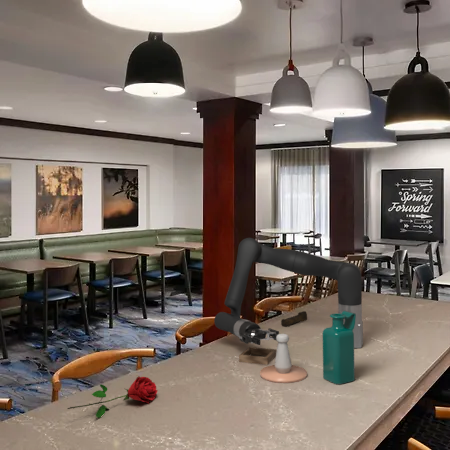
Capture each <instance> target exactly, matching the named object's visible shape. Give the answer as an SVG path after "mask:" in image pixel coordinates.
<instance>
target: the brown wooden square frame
mask: <svg viewBox="0 0 450 450" xmlns="http://www.w3.org/2000/svg"><path fill="white" fill-rule="evenodd" d="M276 352H277V349H276V348H275V349H273V348H263V347H262V348H261V347H253V346H249V347H247V348H246V349H245V350H244V351H243V352H242V353H241V352H240V354H239V355H238V358H239V359H238V361H239V363H248V364H256V365H266V366H269V364H270V363H271V362H272V361H273V360H274V359H276Z"/></svg>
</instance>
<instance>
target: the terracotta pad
mask: <svg viewBox="0 0 450 450" xmlns="http://www.w3.org/2000/svg"><path fill="white" fill-rule="evenodd" d="M259 375H260V378H262V379H263V380H264V381H267V382H270V383H277V384H292V383H299V382H301V381H304V380H305V379H306V378H308V371H307V369H306V368H303V367H302V366H298V365H294V364H292V367H291V369H290V371H289V373H286V374H280V373H278V372H277V370H276V368H275V364H272V365H266V366H265V367H263V368H261V369H260V371H259Z"/></svg>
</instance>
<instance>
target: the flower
mask: <svg viewBox="0 0 450 450" xmlns="http://www.w3.org/2000/svg"><path fill="white" fill-rule="evenodd" d="M99 387H100V388H101V389H102V390H101V389H100V390H99V389H98V390H96V391H94V392H93V393H91V396H93V397H95V398H100V400H99V401H98V402H94V403H89V404H82V405H77V406H76V405H75V406H70V407H67V410H70V409H77V408H83V407H89V406H93V405H98V404H99V405H101V406H100V407H98V410H97V411H96V412H95V417H96V418H98V419H99V418H102V417H103V416H104V415H105V414H106V410H109V408H108V407H107V406H105V405H104V403H108V402H111V401H114V400H117V399H120V398H123V401H127V400H130V399H132V400H133V401H141V402H143V403H147V404H150V403H149V402H150V401H154V400H155V398H156V396H157V393H158V389H157V385H156V383H155V382H154V381H152V379H150V377H147V376H138V377H136V378H135V379H134V381H133V382H132V384H131V385H130V386H129V387H128V388H125V390H126V392H127V393H126V394H124V395H121V396H117V397H115V398H112V399H109V400H104V401H102V400H103V398H107V394H106V392H107V391H108V387H107V386H106V385H104V384H102V383H100V384H99ZM104 413H105V414H104ZM103 414H104V415H103ZM102 415H103V416H102ZM101 416H102V417H101Z"/></svg>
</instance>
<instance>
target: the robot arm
mask: <svg viewBox="0 0 450 450" xmlns="http://www.w3.org/2000/svg"><path fill="white" fill-rule="evenodd" d="M237 247H238V249H237V255H236V262H235V268H234V271H233V273H232V278H231V280H230V284H229V287H228V290H227V293H226V297H225V299H224V306H225V307H227V308H229V310H230V313H228V312H224V311H220V312H218V313H217V314H215V316H214V320H213V321H214V326H215V327H216V328H217V329H218V330H220V331H221V330H222V331H224V332H228V333H230V334H232V335H234V336H236V337H237V338H239V341H240V342H242V343H244V344H247V345H248V344H255V345H256V346H261V341H262V340H263V341H269V340H274V341H276V342H277V340H276V336H277V335H278V334H280V332H279V331H280V330H277V329H274V328H268V329H263V328H261V326H260V325H259V324H258V323H255V322H252V321H251V320H248V319H243V318H241V310H242V303H243V301H244V297H245V295H246V290H247V284H248V280H249V274H250V271H251V269H252V266H253V263H258V264H259V263H260V264H267V265H270V266H273V267H275V268H279V269H281V270H284V271H287V272H291V273H294V274H298V275H302V276H303V275H304V276H311V277H312V276H313V277H324V278H329V279H331V280H335V281H337V298H338V299H337V302H338V303H337V307H338V308H337V310H338V311H337V312H338V313H339V314H342V312H343V311H348V312H351V313H355V314H356V319H355V326H354V329H353V332H354V349H362V348H363V344H364V322H363V314H362V311H363V309H362V308H363V307H362V305H363V304H362V302H363V301H362V299H363V298H362V296H363V293H362V291H363V290H362V288H363V287H362V286H363V285H362V283H363V282H362V280H363V279H362V271H361V268H360V267H359V266H358V265H357V264H355V263H351V262H345V261H337V260H331V259H329V258H328V259H327V258H323V257H321V256H318V255H315V254H312V253H308V252H306V251H305V252H304V251H300V250H297V249H288V248H275V247H271V246H268V245H265V244H262V243H259V242H258V241H257V240H256V239H255V238H252V237H246V238H244V239H242V240H241V241H240V242H239V244H238V246H237ZM344 322H345V319H344Z"/></svg>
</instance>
